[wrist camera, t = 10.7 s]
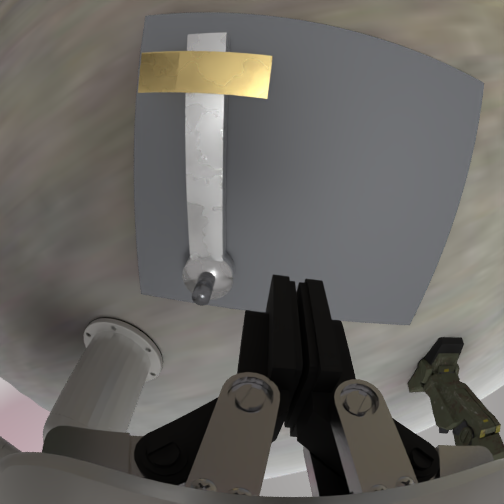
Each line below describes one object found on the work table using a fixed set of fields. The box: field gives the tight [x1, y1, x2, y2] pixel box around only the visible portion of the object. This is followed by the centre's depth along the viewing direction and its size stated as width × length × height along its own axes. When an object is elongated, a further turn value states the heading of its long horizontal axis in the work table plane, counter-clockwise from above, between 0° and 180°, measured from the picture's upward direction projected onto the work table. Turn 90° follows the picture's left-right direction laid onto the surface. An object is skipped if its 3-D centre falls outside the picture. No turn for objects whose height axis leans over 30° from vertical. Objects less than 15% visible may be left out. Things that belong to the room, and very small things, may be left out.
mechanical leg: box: [408, 337, 504, 461], centre depth 27 cm, size 14×7×30 cm, turn 172°
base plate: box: [134, 13, 484, 325], centre depth 26 cm, size 29×32×2 cm
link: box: [182, 32, 235, 305], centre depth 23 cm, size 24×5×5 cm, turn 178°
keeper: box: [138, 51, 273, 99], centre depth 20 cm, size 3×10×4 cm, turn 84°
